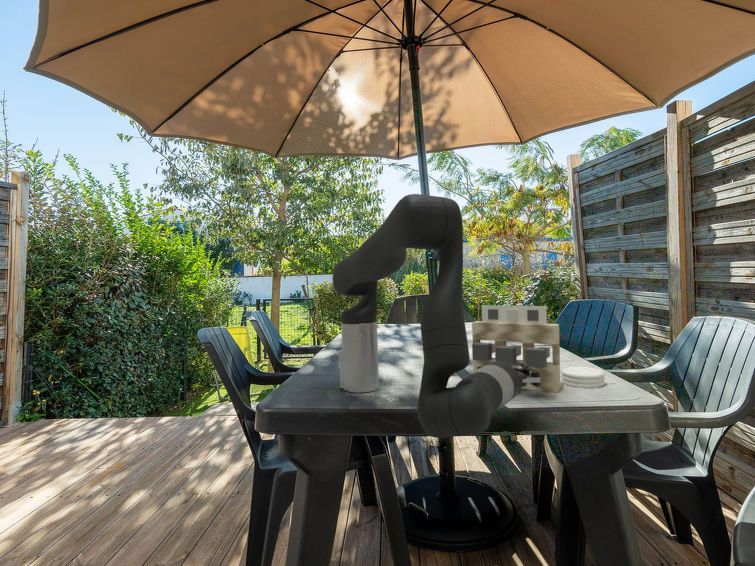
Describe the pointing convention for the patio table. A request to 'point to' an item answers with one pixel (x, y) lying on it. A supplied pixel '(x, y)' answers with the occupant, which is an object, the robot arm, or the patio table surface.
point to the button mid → (508, 353)
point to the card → (514, 314)
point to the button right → (537, 357)
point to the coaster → (583, 377)
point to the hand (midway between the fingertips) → (520, 367)
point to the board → (524, 347)
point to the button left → (483, 351)
